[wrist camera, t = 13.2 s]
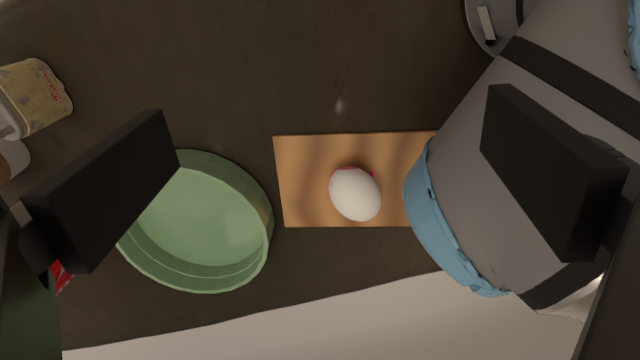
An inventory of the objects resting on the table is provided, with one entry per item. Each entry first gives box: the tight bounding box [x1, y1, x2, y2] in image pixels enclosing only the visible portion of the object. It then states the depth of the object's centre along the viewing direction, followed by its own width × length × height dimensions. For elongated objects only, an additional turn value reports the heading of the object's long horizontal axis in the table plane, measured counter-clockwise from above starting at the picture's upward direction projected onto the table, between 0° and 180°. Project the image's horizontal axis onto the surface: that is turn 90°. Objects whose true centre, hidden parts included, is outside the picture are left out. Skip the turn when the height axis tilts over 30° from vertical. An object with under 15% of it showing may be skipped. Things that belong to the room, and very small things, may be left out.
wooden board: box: [272, 130, 439, 227], centre depth 46 cm, size 20×14×1 cm
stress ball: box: [328, 166, 381, 222], centre depth 44 cm, size 8×8×7 cm
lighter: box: [0, 58, 73, 141], centre depth 38 cm, size 7×4×10 cm, turn 16°
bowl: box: [115, 149, 275, 293], centre depth 49 cm, size 21×21×5 cm
